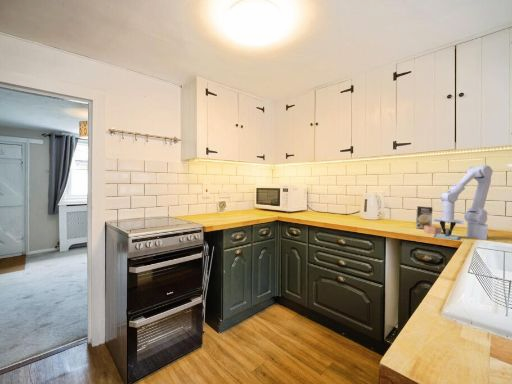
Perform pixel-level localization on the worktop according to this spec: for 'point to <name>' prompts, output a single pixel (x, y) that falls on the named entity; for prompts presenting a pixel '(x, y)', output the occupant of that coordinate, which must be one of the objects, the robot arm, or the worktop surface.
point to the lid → (447, 235)
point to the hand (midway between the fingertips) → (447, 234)
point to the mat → (446, 238)
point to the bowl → (432, 229)
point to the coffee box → (423, 217)
